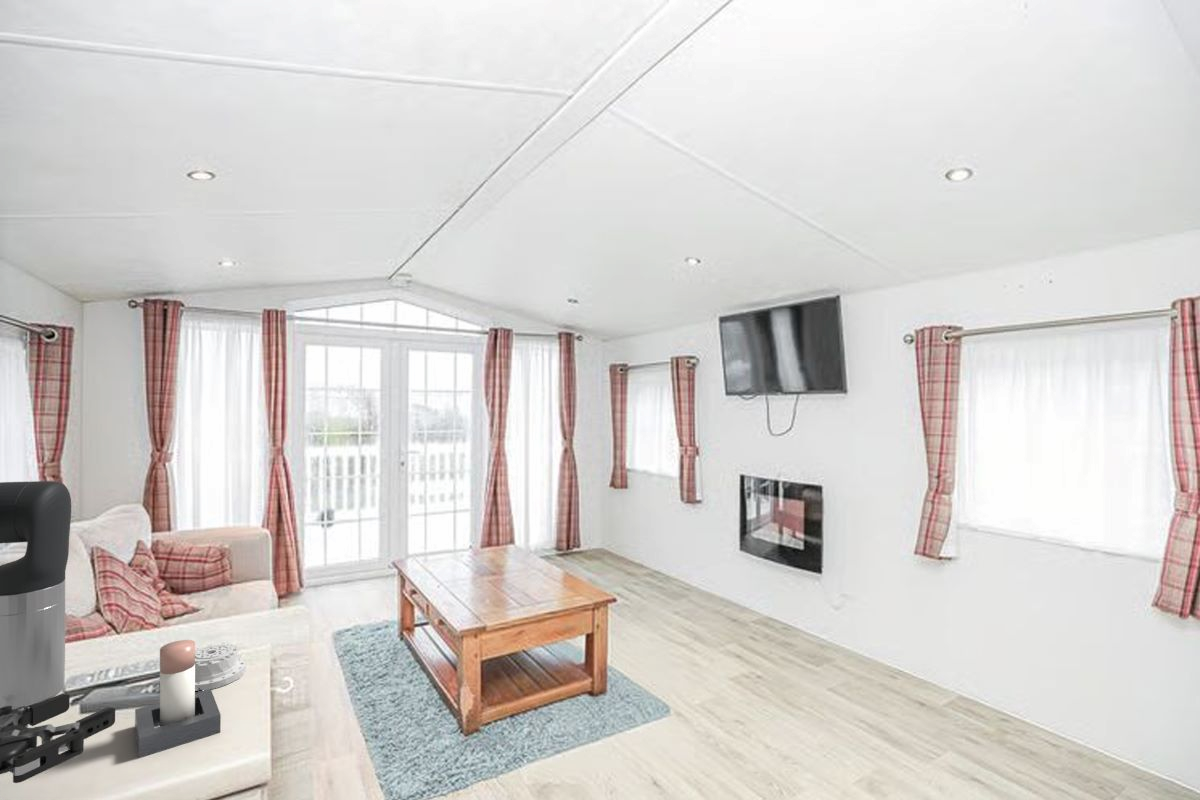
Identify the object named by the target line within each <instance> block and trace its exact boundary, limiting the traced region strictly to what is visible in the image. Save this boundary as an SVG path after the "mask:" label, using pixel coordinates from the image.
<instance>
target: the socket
mask: <svg viewBox="0 0 1200 800" xmlns="http://www.w3.org/2000/svg"><path fill="white" fill-rule="evenodd" d="M134 710H135V711H134V715H135V716H134V721H135V722H134V729H135V736H136V737H135V738H136V744H137V752H138V758H140V759H141V758H143V757H146V756H149V755H152V754H155V753H158V752H161V751H166V750H169V749H172V748H175V747H177V746H181V745H184V744H187V743H191V742H195V741H197V740H201V739H203V738H207V737H210V736H212V735H213V736H214V735H215V734H219V733H221V726H222V725H221V717H222V715H221V712H220V710H219V707H218V705H217V702H216V699H215V696H214V694H213V691H212V689H208V690H204V691H198V692H195V716H194V717H191V718H188V719H184V720H181V721H177V722H174V723H171V724H167V725H164V726H160V702H157V703H153V704H149V705H145V706H142V707H138V708H135V709H134Z"/></svg>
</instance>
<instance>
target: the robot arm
mask: <svg viewBox="0 0 1200 800" xmlns="http://www.w3.org/2000/svg"><path fill="white" fill-rule="evenodd" d="M71 519H72V497H71V493H70V491H69V489H68V487H67V486H66V485H65V484H64V483H62V482H60V481H53V480H50V481H49V480H48V481H47V480H45V481H41V480H40V481H38V480H36V481H35V480H34V481H6V482H4V481H3V482H0V544H14V543H15V544H16V543H17V544H18V543H27V544H26V550H25V553H24V555H23V556H22V557H20V558H19V559H16V560H14V561H11V562H6V563H3V564H1V565H0V775H2V774H3V775H4V774H7V773H9V772H10V773H11V774H12V783H14V784H17V783H19V784H20V783H22V782H25V781H26V780H29V779H31V778H34V777H35V776H38V775H39V774H41V773H43V772H45V771H47V770H49V769H52V768H54V767H56V766H58V765H61V764H62V763H64V762H67V761H68V760H71V759H73V758H75V757H77V756H79V755H81V754H83V753H84V749H85V746H84V745H85V742H84V741H85V740H86V739H88V738H89V737H92V736H93V735H96V734H98V733H101V732H102V731H105V730H106V729H108V728H111V727H112V726H114V724H115V723H116V709H115V707H111V706H107V707H104V708H103V709H101V710H98V711H95V712H94V713H92V714H89V715H88V716H84V717H82V718H80V719H78V720H76V721H75V722H71V723H67V724H62V725H59V726H54V725H53V724H50V723H47V724H44V725H39V724H41V723H43V722H46V721H47V720H50V719H53V718H55V717H57V716H60V715H62V714H64V713H66V712H68V710H70V705H71V704H70V698H71V697H70V694H67V693H60V692H61V691H62V690H63V689H64V688H65V684H66V682H65V681H66V680H65V678H66V677H65V676H66V675H65V673H66V666H65V665H66V570H67V569H66V568H67V565H68V559H69V552H70V550H69V549H70V533H71V532H70V531H71ZM59 693H60V694H59ZM57 694H58V695H57ZM36 725H37V726H36ZM29 726H31V727H29ZM60 735H61V736H60ZM57 736H58V737H57ZM38 737H39V738H40V739H41V744H40V745H38ZM54 737H55V738H54ZM61 752H62V753H61Z"/></svg>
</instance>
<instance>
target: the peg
mask: <svg viewBox="0 0 1200 800" xmlns="http://www.w3.org/2000/svg"><path fill="white" fill-rule="evenodd" d="M195 650H196V642H195V640H192V639H181V640H177V641H176V640H175V641H171V642H170V643H166V644H164V645H163V646H161V647H160V648H159V703H160V725H159V727H160V726H164V725H167V724H171V723H174V722H177V721H181V720H184V719H188V718H191V717H194V716H196V715H195V693H196V692H195Z"/></svg>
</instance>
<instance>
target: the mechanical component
mask: <svg viewBox="0 0 1200 800" xmlns="http://www.w3.org/2000/svg"><path fill="white" fill-rule="evenodd" d="M246 663H247V662H246V661H245V659H244V658H241V657H239V656H238V647H235V645H234V644H230V643H224V642H223V643H221V644H209V645H208V646H204V647H199V648H196V649H195V687H197V688H200V689H202V690H208V689H211V690H214V689H218V688H220V687H223V686H228V685H229V684H231V683H233V682H235V681H237V680H238V679H239V678H241V677H242V676H243V675H244V674H245V672H246V669H247V668H246V667H247V666H246Z"/></svg>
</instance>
